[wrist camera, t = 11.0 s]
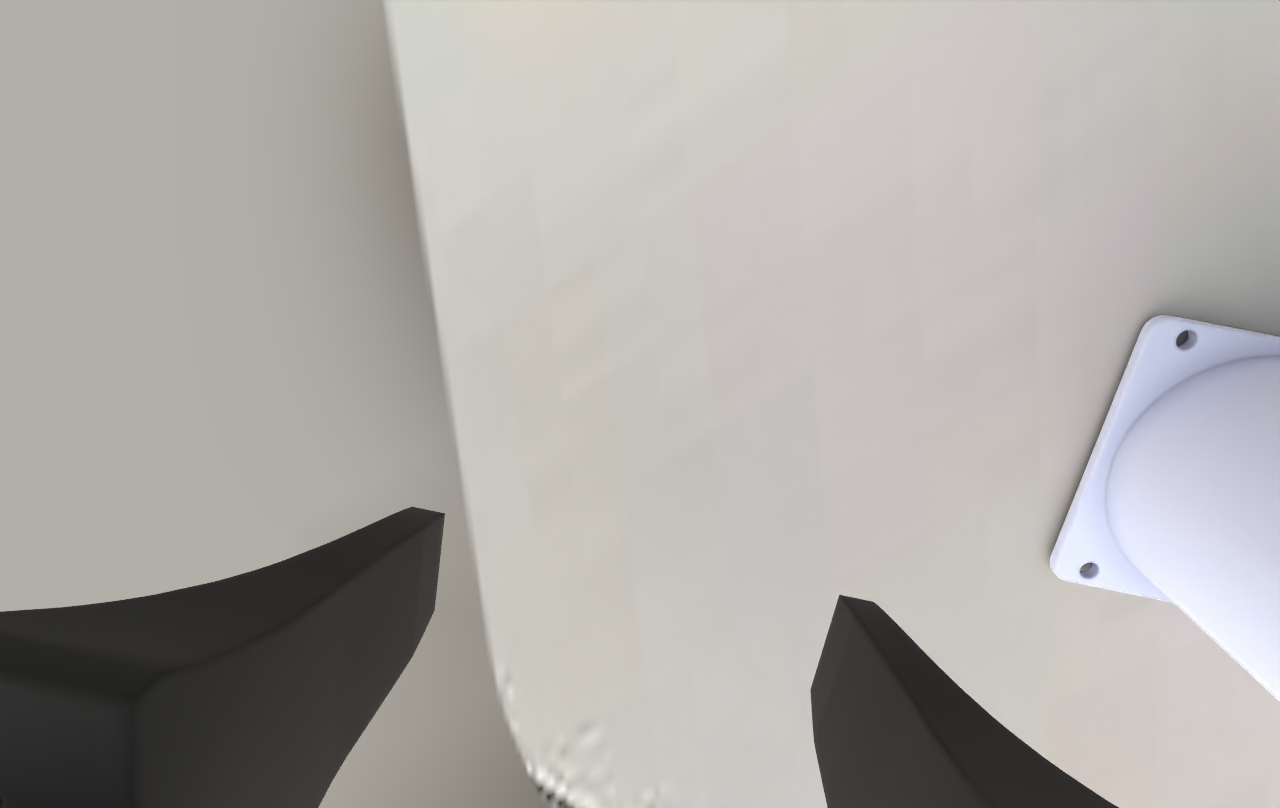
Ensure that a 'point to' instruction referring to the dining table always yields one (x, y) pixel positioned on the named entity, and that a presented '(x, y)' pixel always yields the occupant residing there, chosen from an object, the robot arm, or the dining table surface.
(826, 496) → the dining table surface
